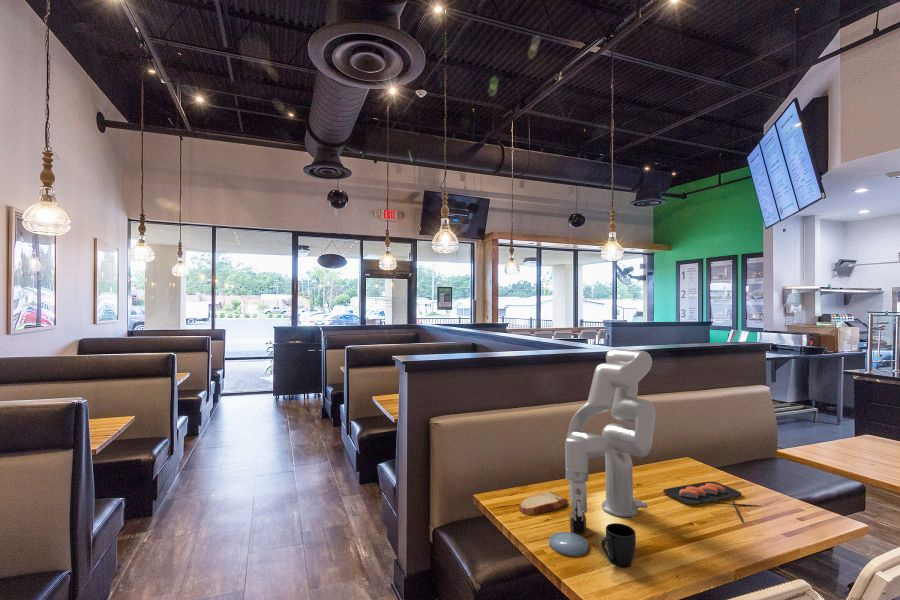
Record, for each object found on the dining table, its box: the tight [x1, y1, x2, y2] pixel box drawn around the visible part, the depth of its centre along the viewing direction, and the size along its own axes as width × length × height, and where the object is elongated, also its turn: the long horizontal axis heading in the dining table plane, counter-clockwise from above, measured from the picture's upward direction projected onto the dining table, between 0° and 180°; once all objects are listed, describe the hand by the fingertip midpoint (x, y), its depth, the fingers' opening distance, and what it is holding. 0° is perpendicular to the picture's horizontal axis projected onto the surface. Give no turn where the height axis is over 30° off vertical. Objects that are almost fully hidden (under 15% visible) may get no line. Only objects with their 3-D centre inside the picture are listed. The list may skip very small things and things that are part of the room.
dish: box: [548, 531, 589, 557], centre depth 136 cm, size 12×12×1 cm
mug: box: [600, 522, 637, 569], centre depth 126 cm, size 8×12×10 cm
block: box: [568, 510, 587, 535], centre depth 146 cm, size 5×5×5 cm
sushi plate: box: [662, 481, 764, 524], centre depth 165 cm, size 29×30×4 cm
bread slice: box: [518, 491, 569, 516], centre depth 164 cm, size 18×18×4 cm
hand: (577, 527), depth 146 cm, fingers closed on block, 5 cm apart
